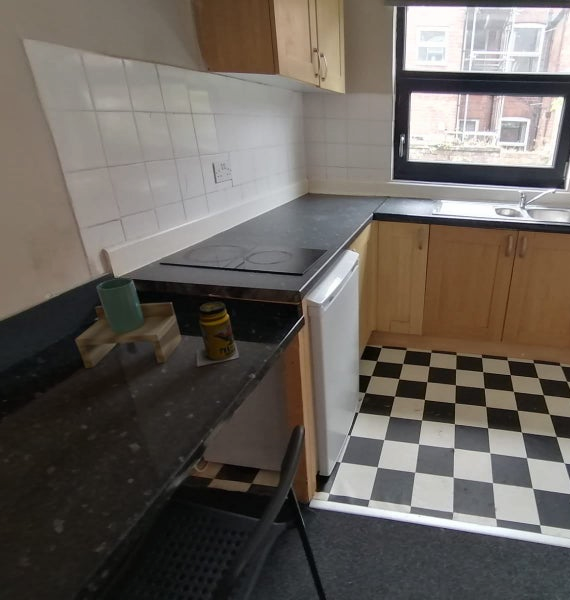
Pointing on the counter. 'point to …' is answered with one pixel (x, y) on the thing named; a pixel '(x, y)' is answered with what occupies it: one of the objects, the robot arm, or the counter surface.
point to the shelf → (132, 334)
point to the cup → (121, 305)
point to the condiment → (215, 335)
